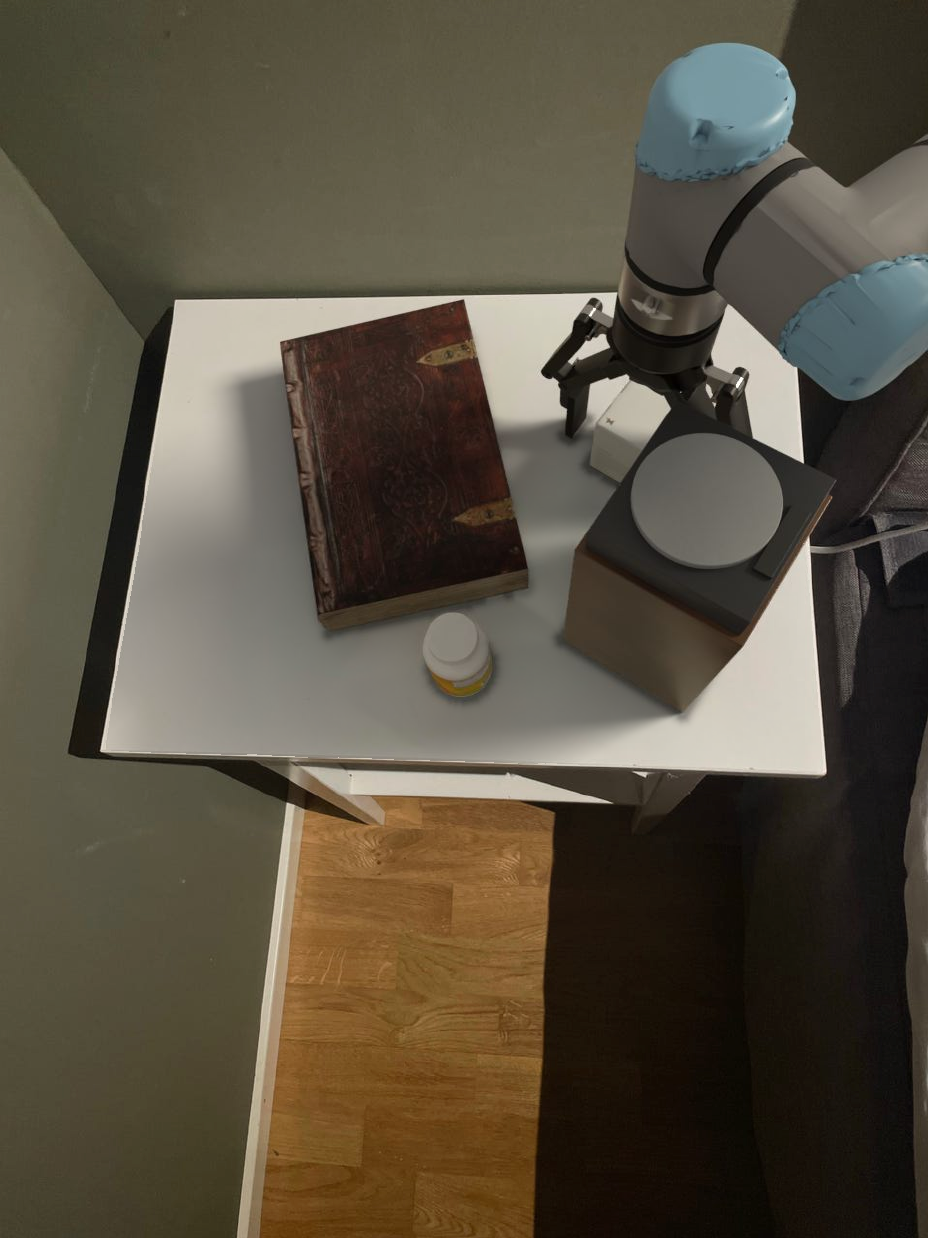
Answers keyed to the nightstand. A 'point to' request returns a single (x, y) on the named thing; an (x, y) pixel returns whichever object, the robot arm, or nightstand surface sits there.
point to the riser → (651, 627)
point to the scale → (709, 516)
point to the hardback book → (399, 468)
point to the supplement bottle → (457, 654)
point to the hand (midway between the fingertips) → (632, 457)
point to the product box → (626, 429)
